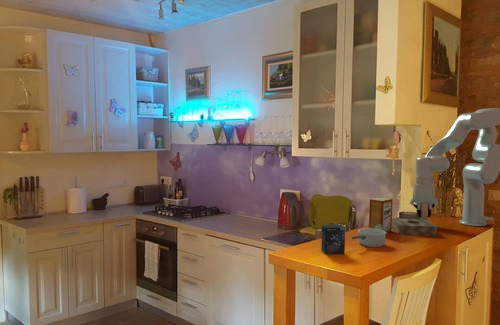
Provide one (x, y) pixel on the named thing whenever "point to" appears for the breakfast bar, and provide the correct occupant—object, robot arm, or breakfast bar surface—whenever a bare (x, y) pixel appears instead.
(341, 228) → the box
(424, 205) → the peg
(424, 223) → the socket block
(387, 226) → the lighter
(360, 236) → the saucepan
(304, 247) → the breakfast bar surface
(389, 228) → the baking soda box
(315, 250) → the breakfast bar surface
